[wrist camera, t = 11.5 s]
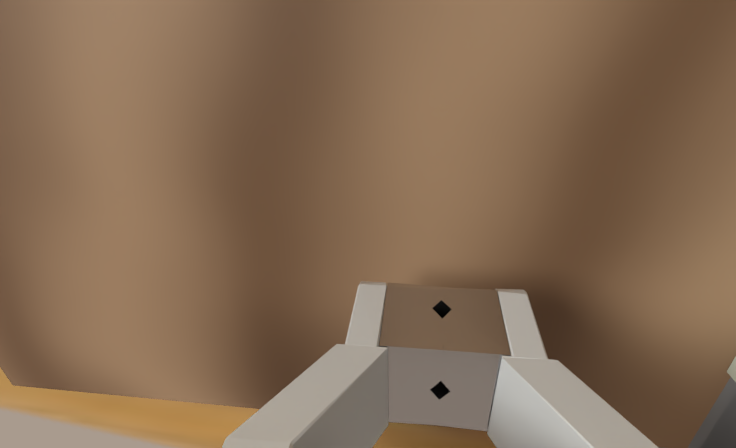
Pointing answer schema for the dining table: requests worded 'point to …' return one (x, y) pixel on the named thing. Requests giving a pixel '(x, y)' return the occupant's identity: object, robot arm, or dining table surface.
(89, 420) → the dining table surface
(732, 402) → the grey bin
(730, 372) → the sage tile
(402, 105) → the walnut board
